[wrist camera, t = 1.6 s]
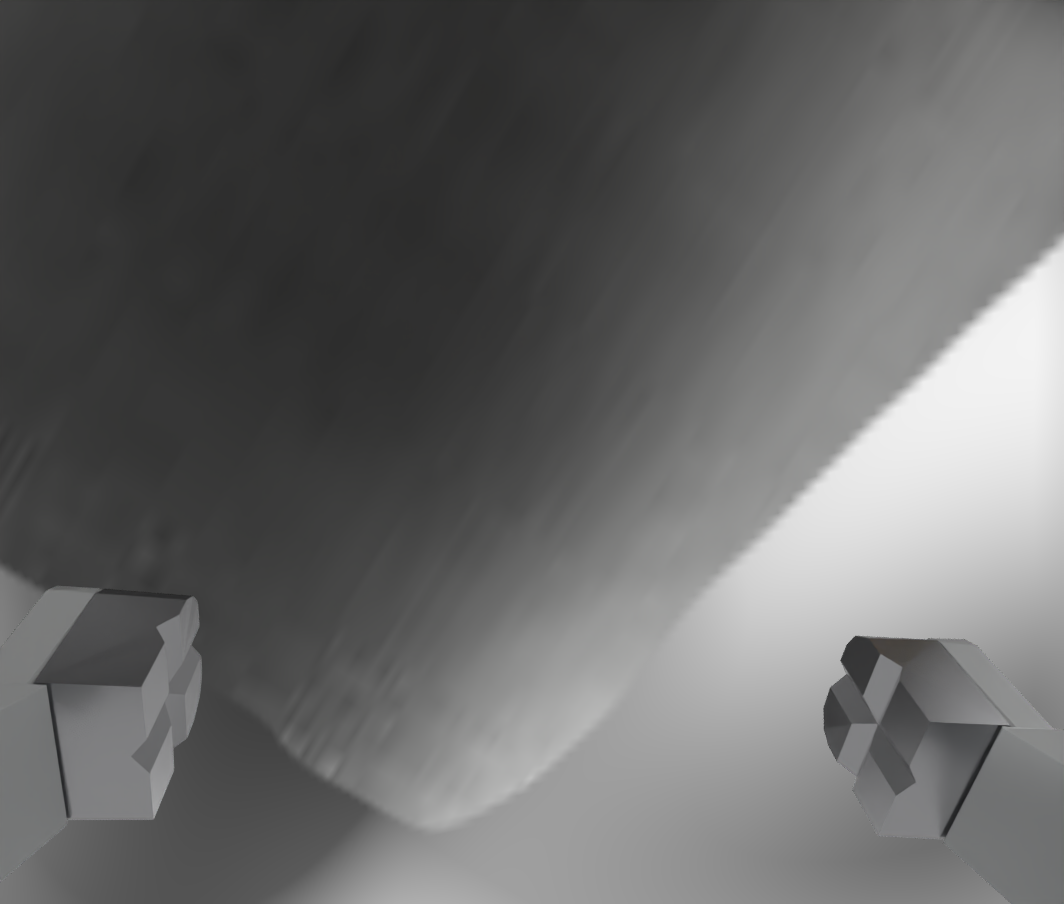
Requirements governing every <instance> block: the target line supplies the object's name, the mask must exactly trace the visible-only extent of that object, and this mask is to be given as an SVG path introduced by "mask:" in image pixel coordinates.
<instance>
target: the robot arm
mask: <svg viewBox="0 0 1064 904" xmlns="http://www.w3.org/2000/svg"><path fill="white" fill-rule="evenodd" d="M199 626H200V624H199V612H198V602H197V601H196V599H195V598H194V597H193V596H189V595H177V594H164V593H152V592H139V591H127V590H114V589H103V590H101V589H98V588H84V587H68V586H56V587H54V588H51V589H49V590H47V591H46V592H45V593H44V594H43V595H42V596H41V598H40V599H39V600H38V601H37V603H36V604H35V605H34V606H33V608H32V609H31V610H30V612H29V613H28V614H27V615H26V616H25V618H24V619H23V620H22V621H21V623H20V624H19V625H18V626H17V628H16V629H15V630H14V631H13V633H12V634H11V635H10V636H9V638H8V639H7V640H6V642H5V643H4V644H3V645H2V646H1V648H0V882H1V881H2V880H4V879H5V878H6V877H7V876H8V875H9V874H11V872H13V871H14V870H15V869H16V868H18V867H19V866H20V865H21V864H22V863H23V862H25V861H26V860H27V859H28V858H29V857H30V856H32V855H33V854H34V853H35V852H36V851H37V850H39V849H40V848H41V847H42V846H43V845H44V844H46V843H47V842H48V841H49V840H50V839H51V838H53V837H54V836H55V835H56V834H57V833H58V832H60V831H61V830H62V829H63V828H64V827H66V826H67V824H68V822H67V820H123V819H124V820H125V819H126V820H139V819H140V820H141V819H154V817H155V815H156V812H157V810H158V808H159V805H160V803H161V800H162V798H163V796H164V793H165V791H166V788H167V786H168V783H169V781H170V779H171V776H172V773H173V771H174V758H173V748H174V747H175V746H177V745H178V744H180V743H181V742H182V741H184V740H185V739H187V737H188V734H189V732H190V729H191V726H192V724H193V721H194V718H195V714H196V710H197V705H198V701H199V696H200V690H201V677H202V666H201V656H200V654H199V653H198V652H197V651H196V650H195V649H194V648H193V647H192V646H191V644H192V641H193V639H194V637H195V635H196V633H197V630H198V628H199ZM841 663H842V665H843V667H844V670H845V672H846V675H845V676H844V677H843V678H841V679H840V680H839V681H838V682H837V683H835V684H834V685H833V686H831V688H830V690H829V693H828V696H827V699H826V702H825V705H824V732H825V735H826V739H827V743H828V746H829V748H830V749H831V751H832V753H833V755H834V757H835V759H836V761H837V762H838V763H840V764H841V765H842V766H843V767H845V768H846V769H847V770H848V771H850V772H851V773H852V774H854V775H855V776H856V779H855V783H854V787H853V792H854V794H855V796H856V797H857V799H858V801H859V803H860V804H861V806H862V808H863V810H864V812H865V813H866V815H867V817H868V819H869V821H870V822H871V824H872V826H873V828H874V829H875V831H876V833H877V835H878V836H889V837H909V838H927V839H945V840H944V842H943V843H944V844H945V845H946V846H947V847H948V848H950V849H951V850H952V851H953V852H954V853H955V854H956V855H958V857H960V858H961V859H962V860H963V861H964V862H965V863H966V864H967V865H969V866H970V867H971V868H972V869H973V870H974V871H975V872H976V873H977V874H979V875H980V876H981V877H982V878H983V879H984V880H985V881H986V882H988V883H989V884H990V885H991V886H992V887H993V888H994V889H995V890H997V891H998V892H999V893H1000V894H1001V895H1002V896H1003V897H1004V898H1005V899H1007V900H1008V901H1009V902H1010V903H1011V904H1064V729H1053V728H1052V727H1051V726H1050V725H1049V724H1048V723H1047V721H1046V720H1045V719H1044V718H1043V717H1042V716H1041V715H1040V714H1039V713H1038V712H1037V711H1036V710H1035V709H1034V707H1033V706H1032V705H1031V704H1030V703H1029V702H1028V701H1027V700H1026V699H1025V698H1024V697H1023V695H1022V694H1021V693H1020V692H1019V691H1018V690H1017V689H1016V688H1015V687H1014V685H1013V684H1012V683H1011V682H1010V681H1009V680H1008V679H1007V678H1006V677H1005V676H1004V675H1003V673H1002V672H1000V670H999V669H998V668H997V667H996V666H995V665H994V664H993V663H992V662H991V660H990V659H989V658H988V657H987V656H986V655H985V654H984V653H983V652H982V650H981V649H980V648H979V647H978V646H977V645H975V644H972V643H971V642H969V641H967V640H965V639H933V638H931V639H930V638H928V639H927V640H925V639H906V638H887V637H870V636H855V637H854V638H853V639H852V640H851V641H850V642H849V643H848V644H847V645H846V648H845V651H844V653H843V655H842V658H841Z"/></svg>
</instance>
